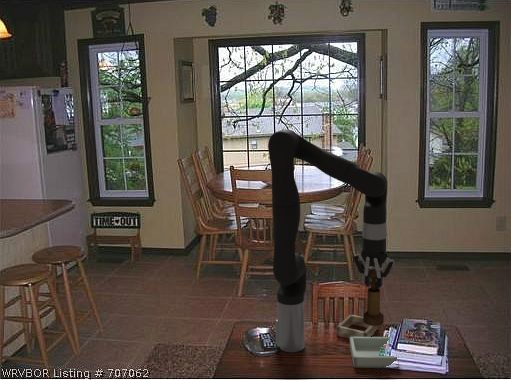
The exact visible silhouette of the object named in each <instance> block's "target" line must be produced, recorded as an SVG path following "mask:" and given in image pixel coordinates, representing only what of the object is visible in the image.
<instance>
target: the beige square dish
mask: <svg viewBox="0 0 511 380" xmlns="http://www.w3.org/2000/svg"><path fill="white" fill-rule="evenodd" d="M363 317H364V316H359V315H355V314H348V316H347V317H346V318H345V319H344V320H342V322H340V323H339V324H338V325H337V326H336V336H337V337H341V338H346V339H349V340H350V337H371V336H372V337H373V335H374V334H375V333H376V332H377V331H378V330H377V329H379V326H370V325H367V324H365V323H364V321H363ZM350 326H356V327H361V328H365V330H364V331H363V330H358V329H353V328H350ZM376 330H377V331H376ZM375 331H376V332H375ZM374 332H375V333H374Z"/></svg>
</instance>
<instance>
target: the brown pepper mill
mask: <svg viewBox="0 0 511 380" xmlns="http://www.w3.org/2000/svg"><path fill="white" fill-rule="evenodd" d="M369 276H370V278H371V282H370V287H367V288H368V289H367V310H366V312H364V313H363V316H362V317H363V321H364V323H365V324H367V325H370V326H378V327H379V326H382V325H384V322H385V321H384V320H385V317H384V314H383V313H382V312H381V310H380V309H381V308H380V307H381V289H380V288H379V289H377V288H376V278H377V272H376V269H375V268H371V270H370V271H369Z"/></svg>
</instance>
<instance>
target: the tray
mask: <svg viewBox="0 0 511 380" xmlns="http://www.w3.org/2000/svg"><path fill="white" fill-rule="evenodd" d="M390 337H391V336H372V337H350V339H349V349H350V354H351V359H352V364H353V368H358V369H359V368H363V369H364V368H367V369H369V368H370V369H372V368H373V369H384V368H383V367H386V366H389V365H391V364H392V363H393V362H394V361H395V360H396V359H397V357H394V356H379V353H380V347H381V346H382V345H384V344H386V343H387V341H388V340H389V341H390Z"/></svg>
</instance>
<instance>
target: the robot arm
mask: <svg viewBox="0 0 511 380" xmlns="http://www.w3.org/2000/svg"><path fill="white" fill-rule="evenodd" d="M267 150H268V157H269V163H270V171H271V204H272V205H271V210H272V211H271V212H272V213H271V214H272V221H273V222H272V226H273V260H272V273H273V277H274V279H275V280H276V281H277V283H278V284H279V288H278V289H277V293H276V302H277V303H276V305H277V308H276V309H277V319H276V320H275V323H274V324H275V325H274V326H275V345H276V344H277V345H279V347H280V349H279V350H280V351H282V352H286V353H298V352H300V351H303V350H304V349H305V347H306V346H305V345H306V344H305V343H306V341H305V340H306V339H305V337H306V335H305V294H306V290H307V265H306V261H305V259H304V257H303V256H302V255H301V254H299V253H297V252H296V240H297V235H298V232H299V227H300V222H301V199H300V193H299V190H298V186H297V183H296V179H295V172H294V170H295V169H294V163H295V162H294V161H295V159H298V160H300V161H304V162H306V163H308V164H309V165H312V167H315V168H316V169H317V170H319V171H321V173H324V174H325V175H327V176H329V177H331V178H332V179H335V180H336V181H339V182H340V183H343V184H346V185H348V186H350V187H352V188H353V189H354V190H356V191H358V192H359V193H361V194H363V195H365V196H364V197H365V198H364V201H365V202H364V205H363V212H362V213H363V215H362V216H363V217H362V219H363V220H362V228H361V229H362V231H361V235H362V236H361V240H362V241H361V243H362V244H361V249H362V250H361V252H360V253H356V254H355V255H354V256H353V257H352V258H353V260H354V262H355V265H356V268H357V270H358V272H359V273H360V274H363V276H364V285H365V286H366V288H370V287H371V285H370V282H371V278H370V276H369V271H370V270H371V269H372V268H373V267H374V269H376V272H377V278H376V288H377V289H380V288H382V286H383V278H387V276H388V275H389V274H390V273H391V271H392V269H393V267H394V265H395V263H396V260H395V259H391V258H390V257H388V254H387V236H388V232H387V206H386V205H387V204H386V203H387V195H388V179H387V177H386V176H385V174H383V173H382V172H379V171H373V172H370V171H367V170H365V169H363V168H361V167H360V165H359V164H356V163H355V162H353V161H351V160H348V159H346V158H345V157H341V156H340V155H337V154H335V153H333V152H330V151H328V150H326V149H323V148H321V147H319V146H318V145H316V144H315V143H312V142H311V141H308V140H307V138H306V139H305V138H304V137H303V136H301V135H300V134H298V133H296V132H295V131H293V130H291V129H287V128H286V129H284V128H283V129H281V130H278V131H275V132H273V134H272V135H270V137H269V139H268V141H267ZM363 261H364V262H363ZM384 263H386V268H385V269H384ZM364 264H365V265H364ZM383 269H384V271H383ZM279 347H278V348H279Z"/></svg>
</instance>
